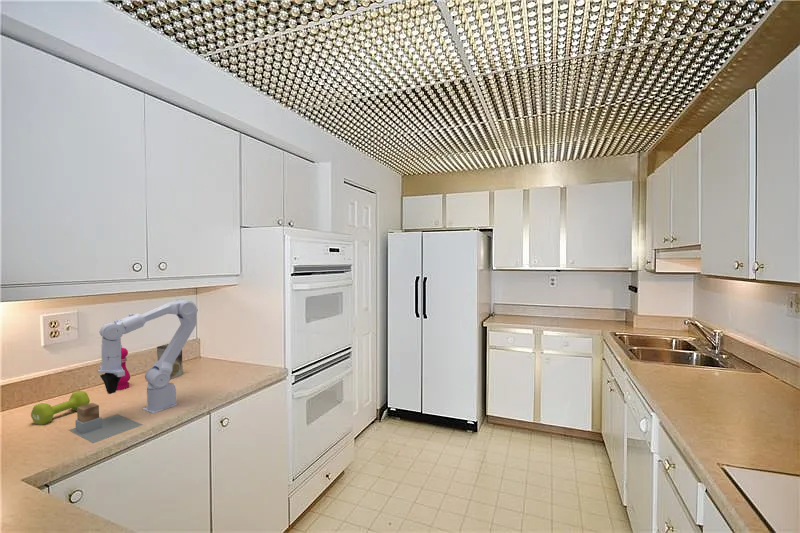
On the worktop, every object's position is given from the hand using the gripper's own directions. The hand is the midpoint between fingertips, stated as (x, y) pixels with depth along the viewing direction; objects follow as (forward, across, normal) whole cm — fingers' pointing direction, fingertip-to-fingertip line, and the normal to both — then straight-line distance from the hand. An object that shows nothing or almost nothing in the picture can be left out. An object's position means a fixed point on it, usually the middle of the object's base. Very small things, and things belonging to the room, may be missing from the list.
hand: (111, 392), depth 139 cm
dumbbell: (+11, -21, -7) cm, 25 cm away
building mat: (+10, +5, -4) cm, 12 cm away
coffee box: (+10, -31, +39) cm, 51 cm away
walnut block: (+7, +1, -8) cm, 10 cm away
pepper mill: (+10, -35, +19) cm, 41 cm away
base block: (+10, +1, -7) cm, 13 cm away
